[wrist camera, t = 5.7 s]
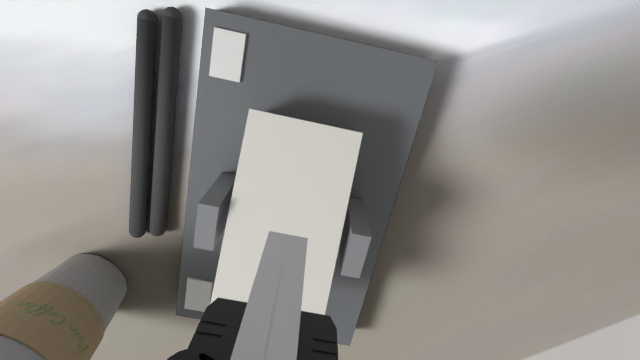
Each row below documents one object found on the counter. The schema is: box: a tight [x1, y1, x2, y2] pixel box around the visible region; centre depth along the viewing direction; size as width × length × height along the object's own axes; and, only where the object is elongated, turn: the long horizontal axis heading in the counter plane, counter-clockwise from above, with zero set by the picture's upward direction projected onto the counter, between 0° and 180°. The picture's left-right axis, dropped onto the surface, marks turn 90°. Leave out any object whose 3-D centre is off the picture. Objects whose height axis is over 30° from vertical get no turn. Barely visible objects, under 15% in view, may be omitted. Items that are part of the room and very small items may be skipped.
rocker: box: [210, 109, 363, 315], centre depth 24 cm, size 14×7×2 cm, turn 168°
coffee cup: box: [0, 254, 127, 360], centre depth 26 cm, size 9×9×15 cm
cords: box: [129, 7, 182, 238], centre depth 27 cm, size 18×3×1 cm, turn 168°
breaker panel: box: [176, 8, 438, 346], centre depth 26 cm, size 24×15×8 cm, turn 168°
